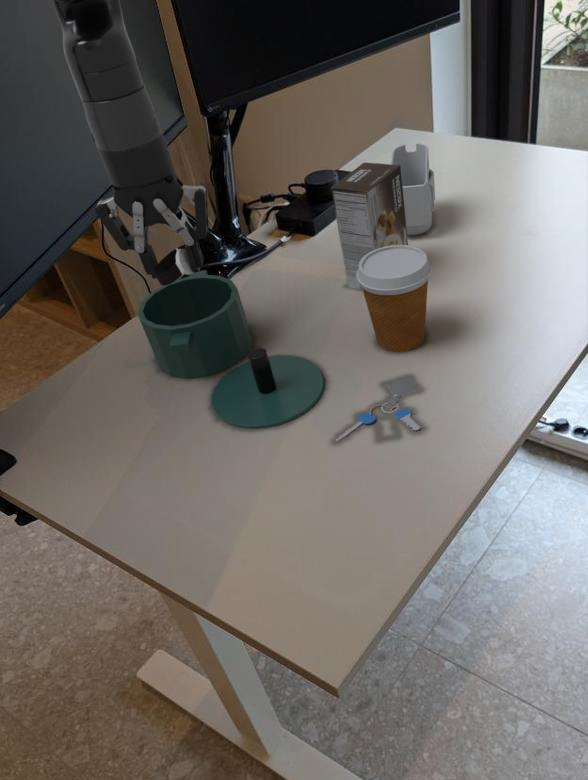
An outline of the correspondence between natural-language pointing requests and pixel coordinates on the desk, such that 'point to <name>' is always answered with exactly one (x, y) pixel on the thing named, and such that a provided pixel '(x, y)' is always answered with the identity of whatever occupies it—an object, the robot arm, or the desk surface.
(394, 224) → the coffee box
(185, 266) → the watch
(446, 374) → the desk surface
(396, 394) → the key chain
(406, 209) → the cable organizer
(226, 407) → the lid
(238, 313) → the pot
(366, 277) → the disposable coffee cup
